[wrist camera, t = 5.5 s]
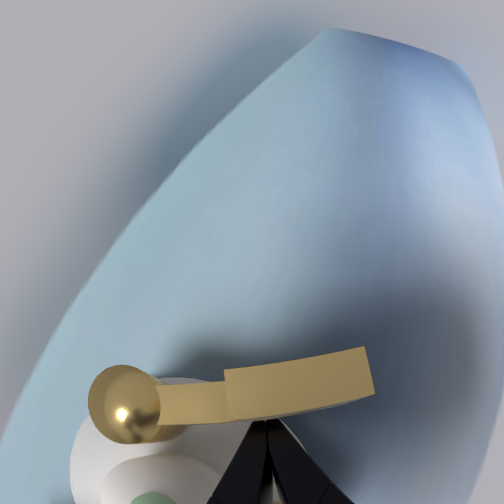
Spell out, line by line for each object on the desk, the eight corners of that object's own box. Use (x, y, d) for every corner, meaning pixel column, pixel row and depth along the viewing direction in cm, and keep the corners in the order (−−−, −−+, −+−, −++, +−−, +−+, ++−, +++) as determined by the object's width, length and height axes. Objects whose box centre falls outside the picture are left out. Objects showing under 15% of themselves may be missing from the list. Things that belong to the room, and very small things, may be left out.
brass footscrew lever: (339, 423, 12) (380, 421, 7) (130, 440, 12) (57, 438, 7) (327, 360, 14) (357, 319, 9) (127, 381, 14) (59, 350, 9)
